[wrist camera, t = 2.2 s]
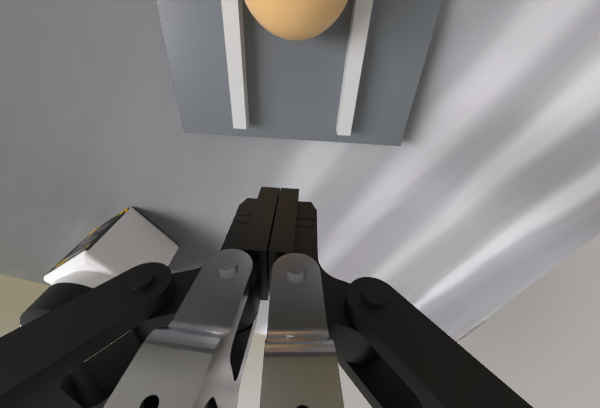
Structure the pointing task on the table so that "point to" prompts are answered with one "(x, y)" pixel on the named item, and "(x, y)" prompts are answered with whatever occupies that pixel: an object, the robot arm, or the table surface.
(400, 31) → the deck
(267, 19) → the ball
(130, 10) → the table surface
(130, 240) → the medicine bottle
